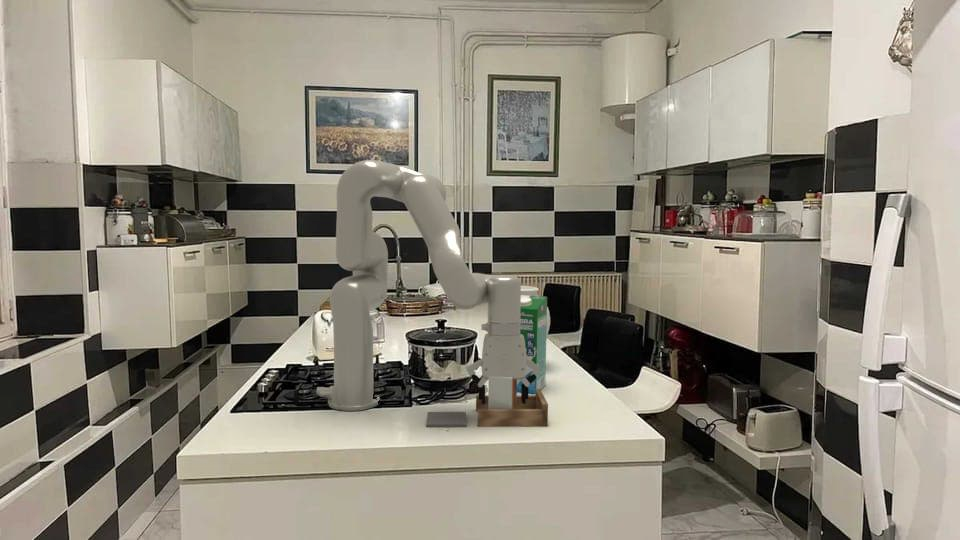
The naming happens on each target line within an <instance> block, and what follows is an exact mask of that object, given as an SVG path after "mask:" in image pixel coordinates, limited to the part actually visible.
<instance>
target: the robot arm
mask: <svg viewBox="0 0 960 540" xmlns="http://www.w3.org/2000/svg"><path fill="white" fill-rule="evenodd" d="M374 197H378V198H388V199H392V200H394V201H397V202H400V203H402V204H404V205H405V207H406V209H407V211H408V212H409V214H410V216H411V218H412V220H413V221H414V223H415V226H416V227H417V229H418V230H419V232H420V235H421V237H422V238H423V240H424V243H425V244H426V247H427V251H428V255H429V259H430V262H431V265H432V270H433V272H434V275H435V276H436V279H437V281H438V282H439V285H440V286H441V288H442V290H443V291H444V294H445V295H446V297H447V298H448V300H449V302H451V304H452V305H454V307H456V308H458V309H460V310H471V309H473V308H475V307H478V306H480V305H483V304H487V322H486V323H481V325H480V326H481V331H484V332H487V333H485V334H484V337H483V343H482V351H481V358H480V359H478V360H477V361H475V362H473V363H471V364H470V365H467V367H466V372H467V374H468V375H469V376H470V378H471V381H473V382H474V383H475V384H476V385H477V386H478V395H479V400H481V401H482V404H485V395H486V386H485V384H486V383H487V381H489V377H513V378H514V380H518V379H520V380H521V381H522V382H523V384H522V385H521V392H520V394H521V401H522V403H523V404H526V399H528V395H529V393H528V387H529V386H530V384H531V383H532V382H533V381H534V380H535V379H536V377H537V375H538V374H539V372H540V370H541V368H540V366H538V365H536V364H534V363H533V362H531V361H529V360H527V359H526V349H525V341H524V336H523V335H522V334H520V306H521V286H522V285H521V284H522V283H521V279H520V278H519V277H518V276H517V275H516V276H515V275H510V274H509V275H507V274H500V275H499V274H497V275H492V274H485V273H481V272H471V270H470V269H469V267H468V265H467V263H466V261H465V259H464V258H463V254H462V251H461V246H460V238H461V237H460V236H461V235H460V234H461V231H460V228H459V225H458V223H457V221H456V219H455V218H454V215H453V214H452V213H451V211H450V209H449V207H448V204H447V203H446V200H447V189H446V186H445V184H444V183H443V182H442V181H441V179H439V178H438V177H435V176H431V175H429V174H425V173H422V172H419V171H415V170H412V169H409V168H406V167H403V166H401V165H397V164H394V163H390V162H385V161H381V160H376V159H366V160H365V159H364V160H360V161H358V162H355V163H354V164H352V165H350V166H349V167H348V168H346V169H345V171H343V173H342V174H341V176H340V178H339V180H338V183H337V187H336V225H335V226H336V229H335V230H336V231H335V259H336V261H337V264H338V265H339V266H340V268H342V269H344V270H346V271H349V272H352V275H351V276H347V277H343V278H341V279H340V280H339V281H337V282H336V283H335V284H334V286H333V287H332V289H331V292H330V293H329V294H330V295H329V306H330V311H331V315H332V316H331V318H332V326H333V328H332V329H333V374H334V375H333V378H334V379H333V382H334V383H333V385H330V386H329V387H325V386H317V387H316V395H317V396H319V397H324V398H325V397H328V400H327V405H328V404H329V405H328V406H329V407H330V408H331V409H333V410H338V411H346V412H347V411H349V412H352V411H353V412H355V411H364V410H369V409H372V408H374V407H377V406H378V405H379V404H378V401H379V400H380V401H381V398H380V396H379V395H377V396H378V397H377V398H376V399H377V400H376V399H373V394H374V327H373V322H372V318H371V313H370V312H371V311H373V310H375V309H377V308H379V307H380V306H381V305H382V304H384V302H385V300H386V298H387V293H388V275H389V274H388V270H389V268H388V267H389V262H388V261H389V259H388V258H389V252H388V247H387V244H386V242H385V240H384V238H383V237H382V235H380V234H379V233H377V232H375V231H373V217H374V216H373V210H372V205H371V199H372V198H374ZM526 366H528V367H529V368H531V369H533V372H532V374H530V375H529V376H528V377H527V378H526ZM480 367H481V375H480V377H479V376H478V375H477V374H476V373H475V371H476V370H477V369H479V368H480ZM330 399H331V400H330Z"/></svg>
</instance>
